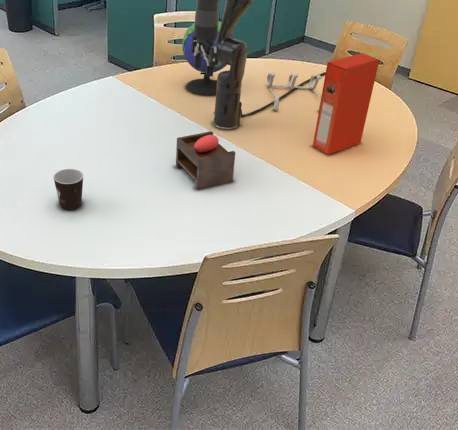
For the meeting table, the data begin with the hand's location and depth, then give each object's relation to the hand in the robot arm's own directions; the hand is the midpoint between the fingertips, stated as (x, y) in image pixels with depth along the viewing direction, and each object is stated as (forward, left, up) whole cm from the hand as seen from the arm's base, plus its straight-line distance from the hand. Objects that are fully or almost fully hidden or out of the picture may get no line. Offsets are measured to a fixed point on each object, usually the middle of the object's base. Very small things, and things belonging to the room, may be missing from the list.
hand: (203, 71), depth 195 cm
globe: (-28, -47, -28) cm, 62 cm away
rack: (+8, +18, -28) cm, 34 cm away
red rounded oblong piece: (+7, +18, -19) cm, 27 cm away
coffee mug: (+54, +20, -28) cm, 64 cm away
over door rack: (-58, -23, -28) cm, 69 cm away
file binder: (-48, +18, -28) cm, 59 cm away
